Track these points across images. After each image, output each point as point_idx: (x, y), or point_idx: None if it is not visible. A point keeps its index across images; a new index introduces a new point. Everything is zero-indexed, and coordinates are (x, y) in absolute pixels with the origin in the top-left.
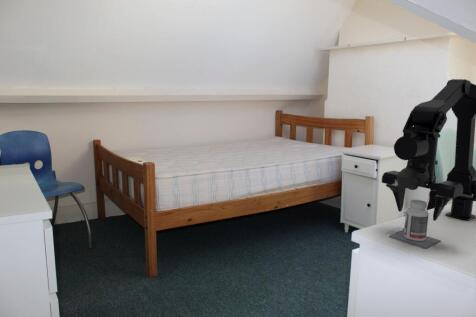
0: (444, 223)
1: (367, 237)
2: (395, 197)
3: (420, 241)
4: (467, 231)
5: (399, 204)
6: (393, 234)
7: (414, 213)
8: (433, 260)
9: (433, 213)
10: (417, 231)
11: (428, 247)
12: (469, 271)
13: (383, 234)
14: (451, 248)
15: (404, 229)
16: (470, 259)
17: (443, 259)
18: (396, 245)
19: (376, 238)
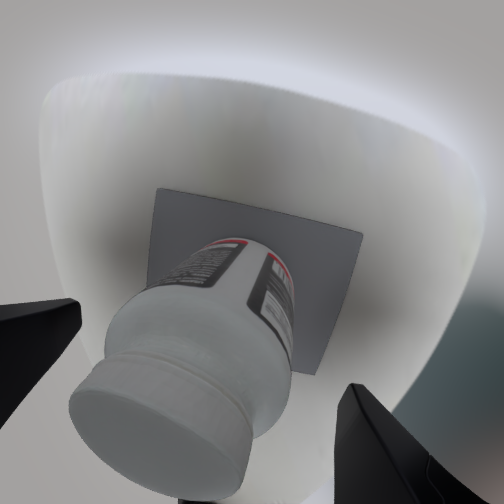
0: None
1: (438, 154)
2: (435, 467)
3: None
4: None
5: (370, 423)
6: (345, 268)
7: (173, 301)
8: (116, 91)
9: (39, 314)
10: (195, 254)
11: (156, 214)
12: (41, 109)
13: (392, 255)
14: (100, 274)
15: (288, 284)
16: (46, 208)
17: (93, 132)
18: (288, 132)
19: (403, 167)
